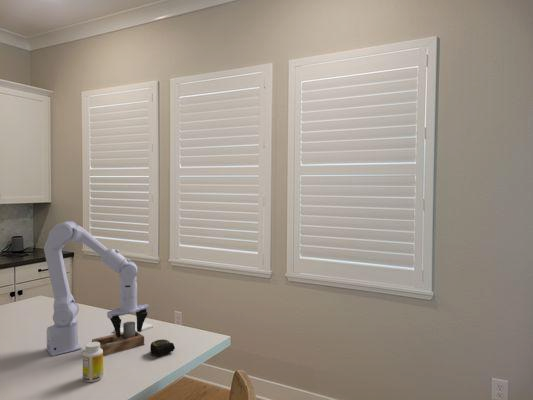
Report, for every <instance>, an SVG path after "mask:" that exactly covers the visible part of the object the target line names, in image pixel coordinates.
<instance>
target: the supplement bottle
mask: <svg viewBox="0 0 533 400" xmlns="http://www.w3.org/2000/svg"><path fill="white" fill-rule="evenodd" d="M84 349H85V350H84V351H83V352H82V380H83V381H84V382H86V383H94V382H99V381H100V380H101V379H102V378H103V377H104V356H103V350H102V349H101V348H100V343H99V342H92V341H91V342H87V343H86V344H85V348H84Z"/></svg>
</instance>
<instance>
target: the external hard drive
mask: <svg viewBox="0 0 533 400" xmlns="http://www.w3.org/2000/svg"><path fill="white" fill-rule="evenodd" d="M151 329H154V326H153V324H150V323H147V322H145V321H144V323H143V326H142V330H141V332H140V333H143V332H144V331H147V330H151ZM135 331H137V322H135ZM122 332H123V326H120V333H122ZM137 332H138V331H137ZM113 333H114V334H116V332H115V329H113Z"/></svg>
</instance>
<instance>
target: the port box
mask: <svg viewBox="0 0 533 400" xmlns="http://www.w3.org/2000/svg"><path fill="white" fill-rule="evenodd" d="M91 339H92V338H91ZM91 342H99V343H100V348H101V349H102V350H103V357H104V356H107V355H112V354H115V353H119V352H122V351H126V350H130V349H134V348H137V347H142V346H144V345H145V336H144V335H143V334H141V332H139V333H138V332H137V331H135V337H131V338H128V339H123V332H122V333H120V337H117V336H116V333H113V334H110V335H105V336H101V337H100V336H99V337H96V338H93V339H92V340H91Z"/></svg>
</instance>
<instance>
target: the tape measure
mask: <svg viewBox="0 0 533 400" xmlns="http://www.w3.org/2000/svg"><path fill="white" fill-rule="evenodd" d="M175 349H176V348H175V344H174V343H173V342H170V340H167V339H156V340H154V341H152V342H151V343H150V353H151V355H153V356H158V357H159V356H164V355H165V354H166V355H167V354H169V353H173V352H174V351H175Z"/></svg>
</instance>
